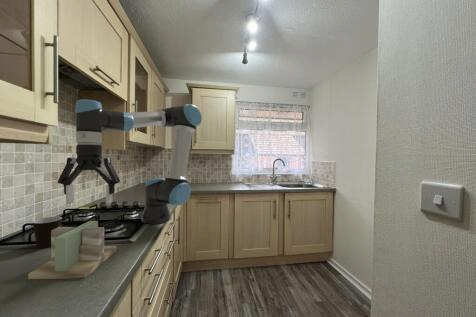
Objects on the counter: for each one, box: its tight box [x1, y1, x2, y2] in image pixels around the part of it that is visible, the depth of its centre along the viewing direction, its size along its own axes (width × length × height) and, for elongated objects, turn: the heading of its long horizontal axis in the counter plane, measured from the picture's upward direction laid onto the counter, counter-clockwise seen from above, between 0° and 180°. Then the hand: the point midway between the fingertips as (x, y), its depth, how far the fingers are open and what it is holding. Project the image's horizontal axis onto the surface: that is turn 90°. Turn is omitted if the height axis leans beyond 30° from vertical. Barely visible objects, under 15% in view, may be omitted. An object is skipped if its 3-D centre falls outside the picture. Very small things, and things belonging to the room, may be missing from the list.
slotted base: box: [27, 226, 118, 280], centre depth 71 cm, size 18×16×12 cm
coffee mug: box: [32, 216, 63, 249], centre depth 85 cm, size 12×9×10 cm
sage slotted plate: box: [55, 220, 99, 271], centre depth 71 cm, size 16×3×10 cm, turn 4°
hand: (89, 203), depth 76 cm, fingers open, 13 cm apart
